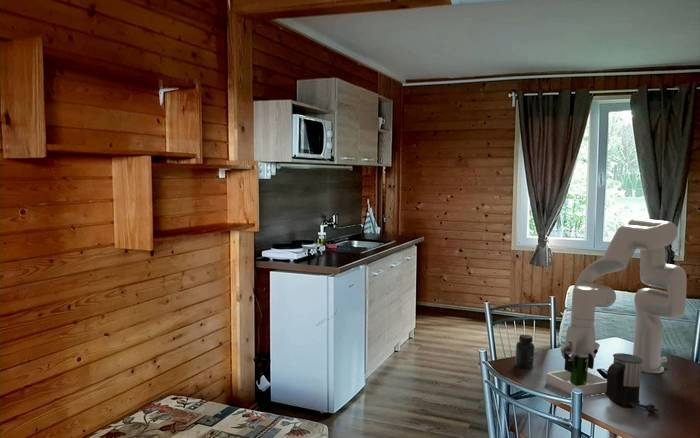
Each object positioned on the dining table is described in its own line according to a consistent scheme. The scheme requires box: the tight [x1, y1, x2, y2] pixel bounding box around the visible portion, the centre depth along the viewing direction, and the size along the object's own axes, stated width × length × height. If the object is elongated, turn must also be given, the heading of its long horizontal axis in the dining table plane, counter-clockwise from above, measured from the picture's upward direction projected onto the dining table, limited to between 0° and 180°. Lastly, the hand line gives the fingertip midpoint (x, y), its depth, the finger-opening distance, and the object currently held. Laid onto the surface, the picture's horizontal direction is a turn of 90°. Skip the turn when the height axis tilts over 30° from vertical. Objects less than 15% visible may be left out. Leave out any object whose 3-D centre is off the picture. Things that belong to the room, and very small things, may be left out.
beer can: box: [570, 354, 589, 386], centre depth 197 cm, size 5×5×12 cm
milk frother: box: [606, 352, 659, 414], centre depth 183 cm, size 14×16×15 cm
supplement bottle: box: [514, 334, 535, 370], centre depth 217 cm, size 7×7×12 cm
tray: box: [545, 369, 607, 399], centre depth 197 cm, size 16×14×4 cm
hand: (578, 369), depth 197 cm, fingers open, 9 cm apart
